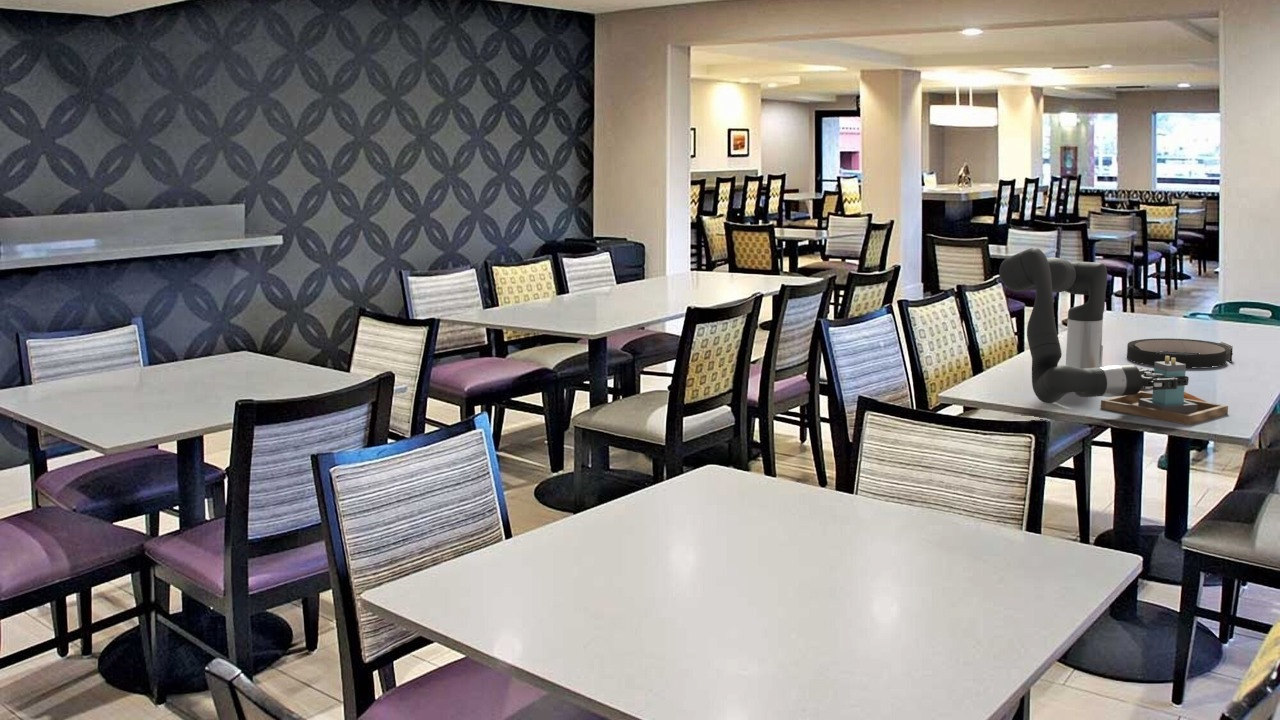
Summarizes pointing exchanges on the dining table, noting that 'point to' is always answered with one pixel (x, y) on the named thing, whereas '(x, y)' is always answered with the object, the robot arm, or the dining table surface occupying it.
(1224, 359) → the belt
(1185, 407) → the socket
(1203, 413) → the walled box
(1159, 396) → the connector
